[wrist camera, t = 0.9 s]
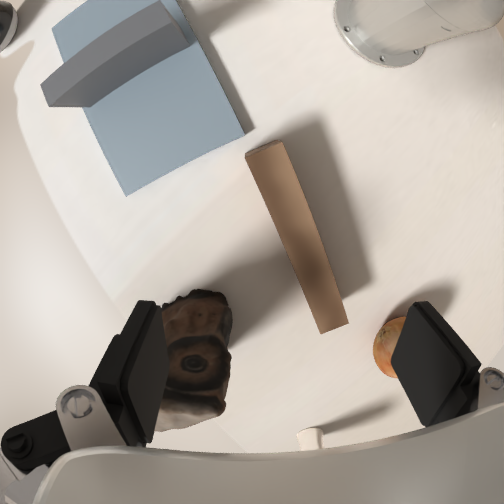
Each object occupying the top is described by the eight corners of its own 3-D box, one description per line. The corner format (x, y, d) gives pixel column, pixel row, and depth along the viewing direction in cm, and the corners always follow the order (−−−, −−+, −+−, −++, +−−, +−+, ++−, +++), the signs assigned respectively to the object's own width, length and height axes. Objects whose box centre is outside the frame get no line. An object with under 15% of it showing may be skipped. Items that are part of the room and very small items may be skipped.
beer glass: (299, 426, 55) (308, 485, 41) (329, 426, 55) (341, 482, 42) (290, 440, 57) (296, 495, 44) (318, 440, 58) (327, 493, 44)
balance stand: (155, -35, 21) (130, -71, 12) (245, 135, 32) (243, 137, 23) (56, 30, 24) (12, 16, 15) (129, 194, 34) (93, 219, 25)
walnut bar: (277, 139, 32) (282, 142, 27) (338, 300, 41) (348, 323, 36) (245, 153, 33) (244, 157, 28) (313, 310, 42) (320, 334, 37)
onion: (395, 354, 46) (416, 394, 37) (354, 344, 45) (372, 389, 36) (426, 312, 43) (454, 349, 34) (386, 298, 41) (413, 339, 32)
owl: (144, 329, 43) (102, 433, 25) (164, 263, 38) (109, 373, 20) (218, 356, 45) (208, 467, 27) (251, 297, 41) (253, 419, 22)
